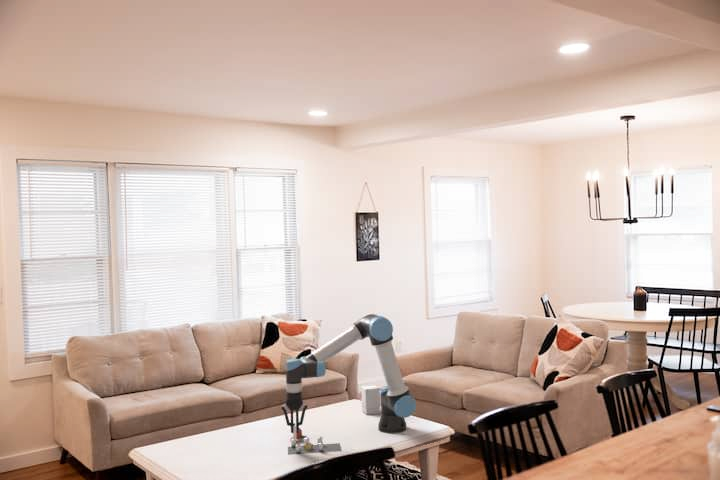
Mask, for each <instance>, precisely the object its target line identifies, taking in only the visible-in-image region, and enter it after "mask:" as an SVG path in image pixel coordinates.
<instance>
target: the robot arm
mask: <svg viewBox="0 0 720 480" xmlns="http://www.w3.org/2000/svg"><path fill="white" fill-rule="evenodd" d="M393 332H394V327H393V324H392V322H391V320H389V318H387V317H384V316H383V315H377V314H374V313H370V314H367V315H365V316H363V317H361V318H360V319H358V320H357V321H356V322H354V323H352V324H351V326H350V328H348V329H346V330H345V331H344V332H342V333H340V334H339V335H337V336H336V337H334V338H333V339H332V340H330V341H328V342H326V343H325V344H324V345H322V346H321V347H319V348H317V349H316V350H314V351H313V352H312V353H310V354H308V355H304V356H301V357H300V358H290V359H287V360H286V362H285V379H286V381H285V382H286V383H285V386H286V387H285V389H286V395H285V396H286V401H285V403H284V404H282V405H281V410H282V411H283V414H284V417H285V418H284V419H285V422H286V426H288V427H289V426H290V433H291V434H293V439H294V440H296V441H297V440H298V439H297V434H296V433H298V432H299V428H300V426H302V425H303V422H304V417H305V415H306V410H307V409H308V404H307V403H304V401H303V392H302V390H303V385H302V383H303V381H302V379H309V378H310V379H312V378H313V379H314V378H321V377H322V378H323V377H324V376H325V375H326V371H327V369H326V368H327V367H326V362H327V361H328V360H329V361H330V359H333V357H334V356H336V355H338V354H340V353H341V352H342V351H344V350H346V348H349V347H350V346H352V345H353V344H355V343H356V342H358V341H363V340H364V339H367V338H368V337H369V341H370V344H371V346H372V347H374V348H375V350H376V353H377V357H378V360H379V364H380V366H381V370H382V372H383V376H384V379H385V382H386V386H382V387H381V388H380V414H381V415H380V418H379V420H378V424H377V425H378V428H377V429H378V431H380V432H381V433H387V434H391V433H392V434H395V433H396V434H397V433H401V432H405V431H406V430H407V427H408V425H407V421H406V418H409V417H410V416H412V415H413V414H414V413H415V410H416V408H417V403H416V400H415V398H414V397H413V396H412V395H411V393H410V389H409V386H407V385H405V382H404V379H403V376H402V372H401V370H400V366H399V363H398V362H399V361H398V360H397V357H396V354H395V350H394V346H393V343H392V342H393V340H394V336H393ZM301 407H302V410H301V416H300V418H299V411H300V409H301ZM287 408H288V409H289V411H290V419H289V415H288V411H287ZM294 411H295V425H293V424H294Z"/></svg>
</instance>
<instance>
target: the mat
mask: <svg viewBox="0 0 720 480" xmlns="http://www.w3.org/2000/svg"><path fill="white" fill-rule="evenodd" d="M323 449H324V451H323V452H319V448H318V444H313V449H312V450H309V451H306V450H304V445H301V453H300V454H299V455H304V454H306V455H307V454H319V453H320V454H321V453H331V452H332V453H333V452H334V453H335V452H342V451H343V450H342V446H341V443H323ZM287 455H289V456H290V455H291V456H292V455H297V454H296V448H292V447H291V446H287Z"/></svg>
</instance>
